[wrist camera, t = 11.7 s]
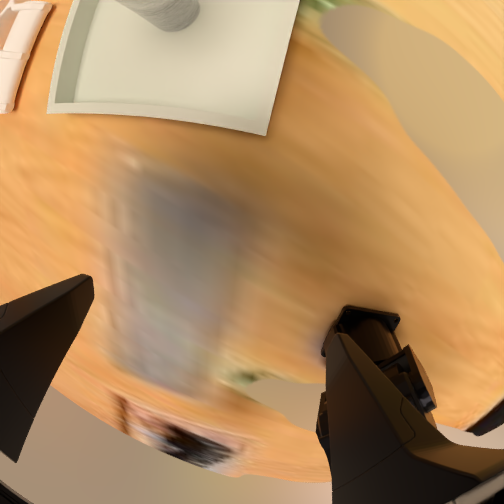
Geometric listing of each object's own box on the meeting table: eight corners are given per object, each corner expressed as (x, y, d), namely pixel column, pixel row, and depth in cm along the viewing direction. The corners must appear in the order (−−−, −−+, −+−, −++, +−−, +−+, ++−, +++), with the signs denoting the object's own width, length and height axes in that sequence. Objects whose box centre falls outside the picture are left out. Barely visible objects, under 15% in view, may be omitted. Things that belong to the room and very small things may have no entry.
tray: (312, -48, 11) (317, -66, 8) (266, 134, 18) (265, 136, 16) (117, -50, 10) (102, -62, 7) (68, 111, 18) (46, 113, 15)
